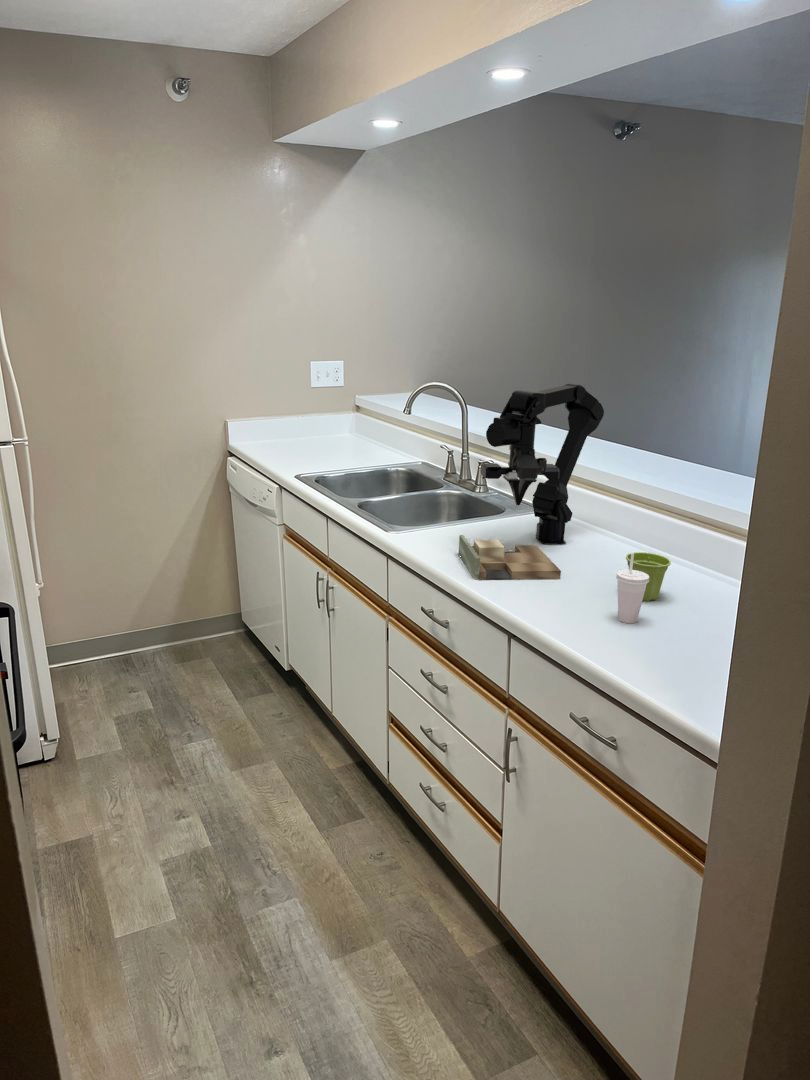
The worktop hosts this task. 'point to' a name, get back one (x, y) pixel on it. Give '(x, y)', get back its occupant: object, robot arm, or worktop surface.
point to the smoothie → (630, 593)
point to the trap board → (509, 564)
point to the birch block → (489, 550)
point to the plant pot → (650, 571)
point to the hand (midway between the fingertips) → (517, 504)
